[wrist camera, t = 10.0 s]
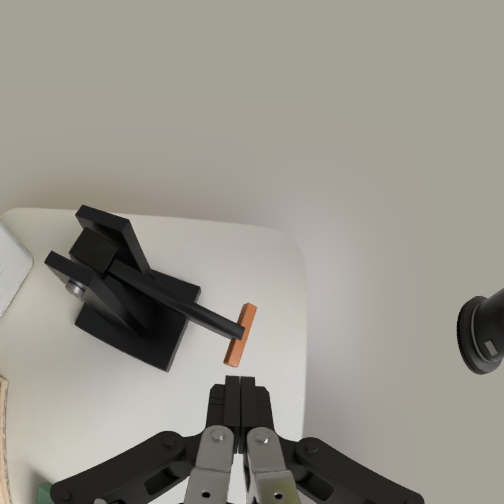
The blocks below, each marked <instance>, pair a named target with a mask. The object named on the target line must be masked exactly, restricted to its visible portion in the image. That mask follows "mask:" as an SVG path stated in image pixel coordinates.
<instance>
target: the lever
mask: <svg viewBox="0 0 504 504" xmlns="http://www.w3.org/2000/svg"><path fill="white" fill-rule="evenodd" d="M118 249H119V247H118V246H117V245H115V244H113V243H112V242H110V241H108V240H107V239H105V238H104V237H102V236H101V235H99V234H97V233H96V232H94V231H93V230H91V229H90V228H88V227H85V228H84V230H83V231H82V233H81V234H80V236H79V237H78V239H77V240H76V242H75V243H74V245H73V247H72V248H71V250H70V251H69V255H70V258H71V261H73V262H75V263H77V264H79V265H81V266H83V267H86V268H88V269H90V270H92V271H94V272H96V273H97V274H98V275H99V276H100V278H101V279H102V280H103V281H105V279H106V277H107V276H110V277H112V278H113V279H115V280H117V281H118V282H120V283H122V284H123V285H125V286H127V287H129V288H130V289H132V290H134V291H136V292H137V293H139V294H141V295H143V296H145V297H146V298H148V299H150V300H152V301H154V302H156V303H157V304H159V305H161V306H163V307H165V308H167V309H169V310H171V311H173V312H174V313H176V314H178V315H180V316H182V317H184V318H186V319H188V320H190V321H192V322H194V323H196V324H198V325H200V326H203V327H205V328H207V329H209V330H211V331H213V332H215V333H217V334H219V335H222V336H224V337H226V338H228V339H230V340H231V342H230V345H229V347H228V350H227V353H226V356H225V359H224V362H223V363H224V364H226V365H228V366H231V367H238V365H239V362H240V359H241V356H242V353H243V350H244V347H245V344H246V341H247V337H248V334H249V331H250V328H251V325H252V322H253V319H254V316H255V313H256V310H257V307H256V306H254V305H252V304H250V303H246V304H244V305H243V307H242V310H241V313H240V316H239V319H238V322H237V323H235V322H233V321H230V320H228V319H226V318H224V317H222V316H220V315H218V314H216V313H214V312H212V311H210V310H208V309H206V308H204V307H202V306H200V305H199V304H197V303H195V302H193V301H191V300H189V299H187V298H185V297H183V296H181V295H180V294H178V293H176V292H174V291H172V290H170V289H168V288H167V287H165V286H163V285H161V284H159V283H158V282H156V281H154V280H152V279H151V278H149V277H147V276H145V275H144V274H142V273H140V272H138V271H137V270H135V269H133V268H132V267H130V266H128V265H126V264H125V263H123V262H121V261H120V260H118V259H117V255H118Z"/></svg>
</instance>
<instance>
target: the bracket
mask: <svg viewBox="0 0 504 504" xmlns="http://www.w3.org/2000/svg"><path fill="white" fill-rule="evenodd" d="M75 216H76V218H77V219H78V221H79V223H80V224H81V226H82V228H83V229H84V228H85V227H88V228H90V229H91V230H93V231H94V232H96V233H97V234H99V235H101V236H102V237H104V238H105V239H107V240H108V241H110V242H112V243H113V244H115V245H117V246H118V247H119V249H118V255H117V259H118V260H120V261H121V262H123V263H125V264H126V265H128V266H130V267H132V268H133V269H135V270H137V271H138V272H140V273H142V274H144V275H145V276H147V277H149V278H151V279H152V280H154V281H156V282H158V283H159V284H161V285H163V286H165V287H167V288H168V289H170V290H172V291H174V292H176V293H178V294H180V295H181V296H183V297H185V298H187V299H189V300H191V301H193V302H195V303H197V301H198V298H199V296H200V293H201V288H200V287H199V286H196V285H193V284H191V283H188V282H185V281H182V280H179V279H177V278H174V277H171V276H168V275H166V274H163V273H160V272H157V271H155V270H152V269H150V266H149V264H148V262H147V260H146V258H145V255H144V253H143V251H142V249H141V246H140V244H139V242H138V240H137V237H136V235H135V233H134V230H133V228H132V225H131V223H130V220H129V219H126V218H122V217H119V216H116V215H113V214H110V213H107V212H104V211H101V210H97V209H95V208H91V207H88V206H85V205H82V206H81V207H80V209H79V210H78V211H77V213H76V214H75ZM44 263H45V264H46V265H47V266H48V267H49V268H50V270H51V271H52V272H53V273H54V274H55V275H56V276H57V277H58V278H59V279H60V280H61V281H62V282H63V283H64V284H65V285H66V286H65V288H66V289H67V290H68V291H69V292H70V293H72V294H73V295H74V296H76V297H78V298H80V299H81V300H82V301H84V302H85V303H84V305H83V307H82V309H81V311H80V313H79V315H78V317H77V319H76V322H75V325H76V326H77V327H79V328H80V329H82V330H84V331H85V332H87V333H89V334H91V335H92V336H94V337H96V338H98V339H99V340H101V341H103V342H105V343H107V344H109V345H111V346H112V347H114V348H116V349H118V350H120V351H122V352H124V353H126V354H128V355H130V356H132V357H134V358H136V359H139V360H141V361H143V362H145V363H147V364H149V365H152V366H154V367H156V368H158V369H161V370H163V371H165V372H169V370H170V367H171V365H172V362H173V360H174V357H175V355H176V352H177V350H178V347H179V345H180V342H181V340H182V337H183V335H184V332H185V330H186V327H187V325H188V322H189V320H188V319H186V318H184V317H182V316H180V315H178V314H176V313H174V312H173V311H171V310H169V309H167V308H165V307H163V306H161V305H159V304H157V303H156V302H154V301H152V300H150V299H148V298H146V297H145V296H143V295H141V294H139V293H137V292H136V291H134V290H132V289H130V288H129V287H127V286H125V285H123V284H122V283H120V282H118V281H117V280H115V279H113V278H112V277H110V276H107V277H106V279H105V281H103V280H102V279H101V278H100V276H99V275H98V274H97V273H96V272H94V271H92V270H90V269H88V268H86V267H83V266H81V265H79V264H77V263H75V262H73V261H71V260H69V259H67V258H65V257H63V256H61V255H59V254H57V253H55V252H53V251H51V252H50V253H49V255H48V257H47V258H46V260H45V262H44Z"/></svg>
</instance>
